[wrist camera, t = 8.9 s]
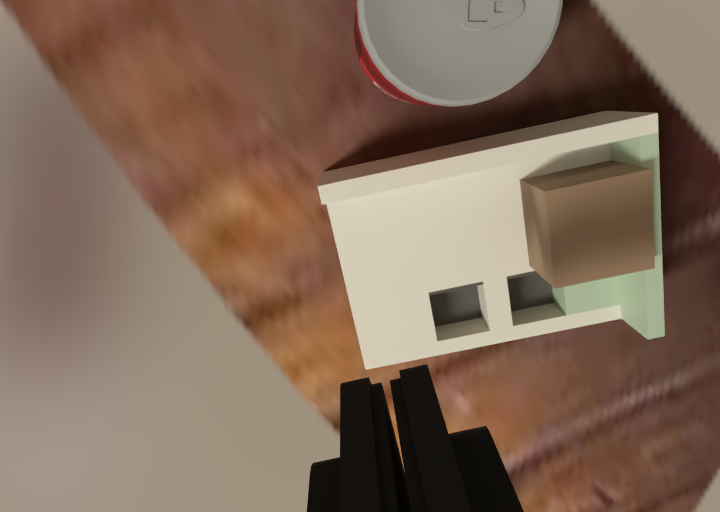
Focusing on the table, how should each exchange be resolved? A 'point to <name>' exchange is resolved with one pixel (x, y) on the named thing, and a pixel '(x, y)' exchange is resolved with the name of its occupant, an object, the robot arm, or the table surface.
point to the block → (589, 222)
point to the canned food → (452, 46)
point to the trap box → (479, 241)
